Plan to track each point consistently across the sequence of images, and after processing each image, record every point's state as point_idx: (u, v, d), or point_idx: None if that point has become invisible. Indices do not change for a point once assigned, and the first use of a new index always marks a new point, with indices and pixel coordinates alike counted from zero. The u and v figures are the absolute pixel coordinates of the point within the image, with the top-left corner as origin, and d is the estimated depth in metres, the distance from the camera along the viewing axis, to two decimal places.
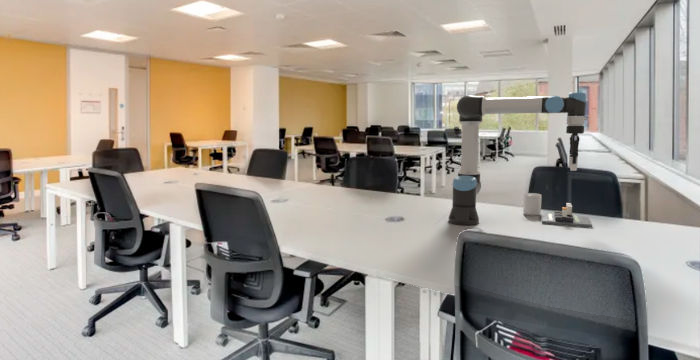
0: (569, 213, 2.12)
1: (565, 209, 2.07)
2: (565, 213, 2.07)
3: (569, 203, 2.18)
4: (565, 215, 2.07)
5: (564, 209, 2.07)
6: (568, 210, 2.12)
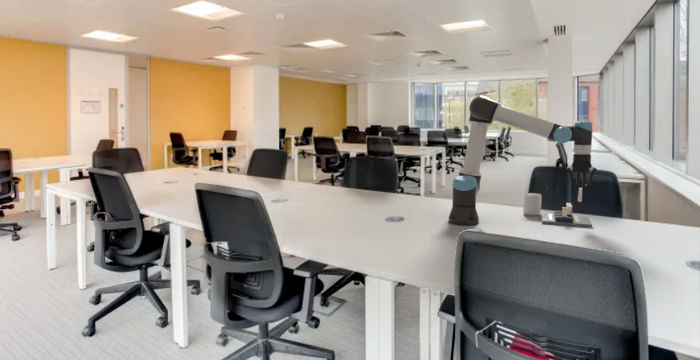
0: (569, 213, 2.12)
1: (565, 209, 2.07)
2: (565, 213, 2.07)
3: (569, 203, 2.18)
4: (565, 215, 2.07)
5: (564, 209, 2.07)
6: (568, 210, 2.12)
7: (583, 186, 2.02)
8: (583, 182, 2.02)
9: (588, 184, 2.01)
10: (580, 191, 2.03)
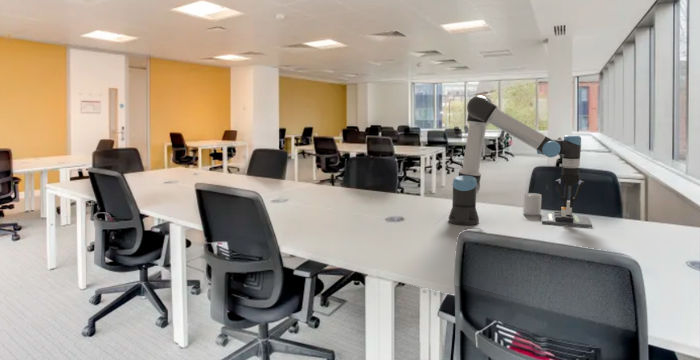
0: (569, 213, 2.12)
1: (564, 209, 2.07)
2: (564, 213, 2.07)
3: None
4: (564, 215, 2.07)
5: (563, 209, 2.07)
6: None
7: (571, 199, 2.05)
8: (571, 195, 2.05)
9: (576, 197, 2.04)
10: (568, 204, 2.06)
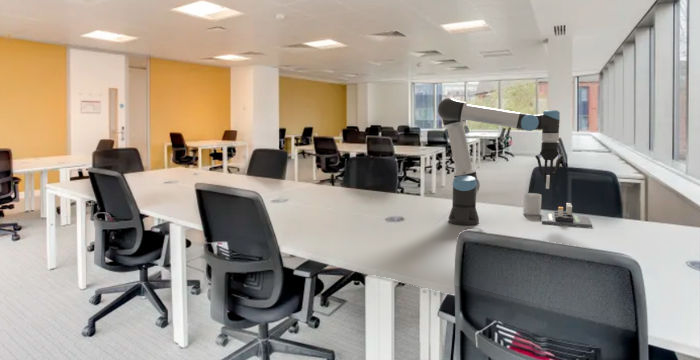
0: (569, 213, 2.12)
1: (561, 209, 2.07)
2: (561, 213, 2.08)
3: (569, 203, 2.18)
4: (561, 215, 2.08)
5: (560, 209, 2.08)
6: (568, 210, 2.12)
7: (550, 173, 2.07)
8: (550, 169, 2.07)
9: (555, 171, 2.06)
10: (548, 178, 2.08)
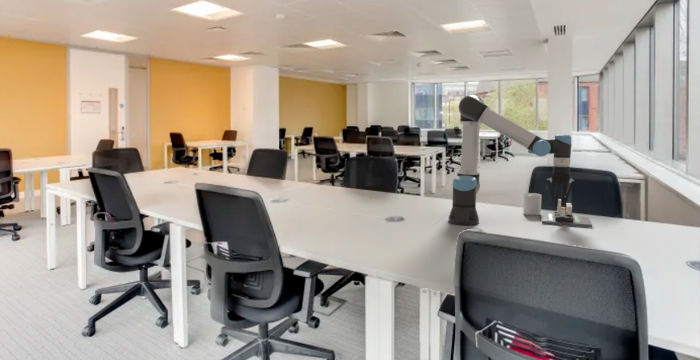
0: (569, 213, 2.12)
1: (563, 209, 2.07)
2: (563, 213, 2.07)
3: (569, 203, 2.18)
4: (563, 215, 2.07)
5: (562, 209, 2.07)
6: (568, 210, 2.12)
7: (562, 198, 2.07)
8: (562, 194, 2.07)
9: (567, 196, 2.06)
10: (559, 203, 2.08)
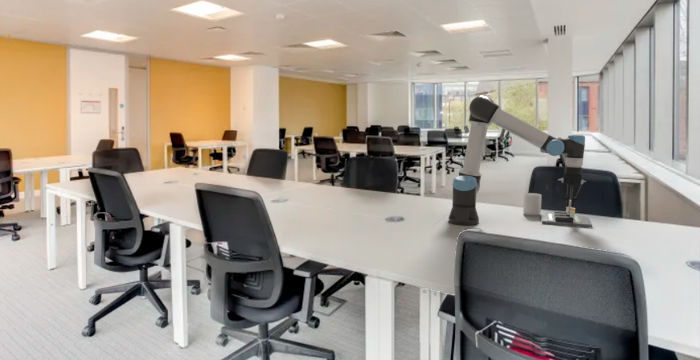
0: None
1: (573, 210, 2.05)
2: (573, 214, 2.06)
3: None
4: (573, 216, 2.06)
5: (572, 210, 2.05)
6: None
7: (572, 198, 2.05)
8: (573, 194, 2.05)
9: (577, 197, 2.04)
10: (569, 203, 2.06)
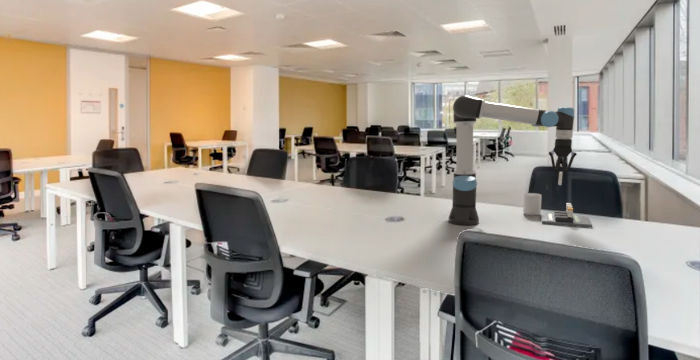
0: None
1: (571, 209, 2.06)
2: (571, 213, 2.06)
3: (569, 203, 2.18)
4: (571, 215, 2.06)
5: (570, 209, 2.06)
6: None
7: (563, 170, 2.10)
8: (563, 166, 2.10)
9: (568, 168, 2.09)
10: (560, 175, 2.11)
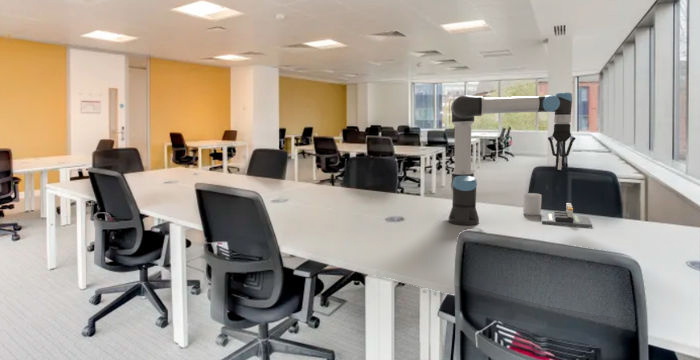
0: None
1: (571, 209, 2.06)
2: (571, 213, 2.06)
3: (569, 203, 2.18)
4: (571, 215, 2.06)
5: (570, 209, 2.06)
6: None
7: (563, 155, 2.12)
8: (563, 151, 2.12)
9: (567, 153, 2.11)
10: (560, 160, 2.13)
